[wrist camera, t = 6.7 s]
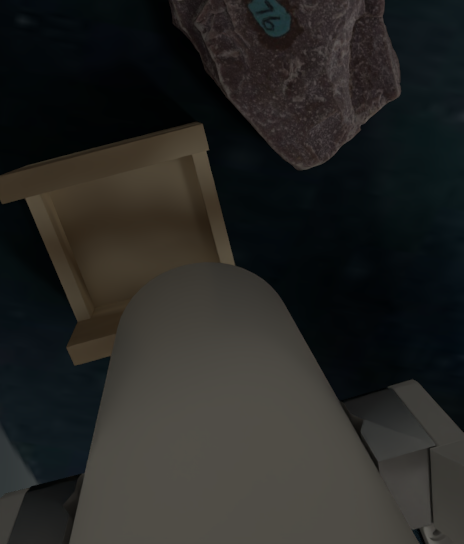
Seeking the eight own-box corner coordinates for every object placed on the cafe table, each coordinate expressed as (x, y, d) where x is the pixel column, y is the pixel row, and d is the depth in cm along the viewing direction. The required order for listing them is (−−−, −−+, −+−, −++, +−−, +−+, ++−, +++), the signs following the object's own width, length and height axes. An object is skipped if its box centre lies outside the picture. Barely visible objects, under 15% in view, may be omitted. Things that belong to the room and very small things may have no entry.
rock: (260, -152, 21) (287, -229, 16) (400, 67, 26) (453, 58, 21) (128, -9, 23) (116, -40, 18) (282, 174, 27) (307, 190, 22)
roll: (303, 390, 13) (537, 896, 5) (146, 433, 13) (105, 1042, 5) (274, 241, 11) (585, 658, 3) (89, 290, 11) (-161, 889, 3)
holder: (236, 280, 29) (250, 316, 24) (91, 320, 29) (74, 365, 23) (196, 121, 25) (202, 123, 20) (28, 165, 25) (-10, 179, 20)
